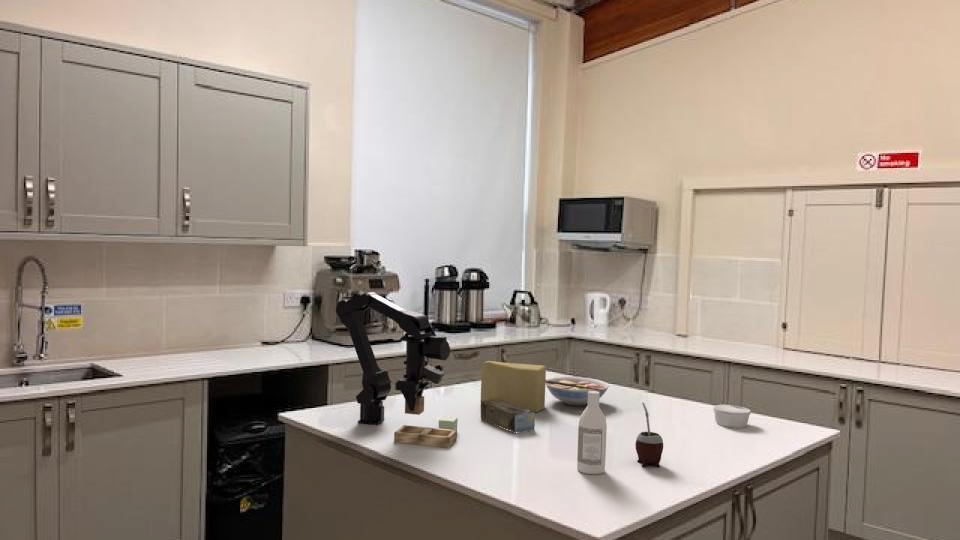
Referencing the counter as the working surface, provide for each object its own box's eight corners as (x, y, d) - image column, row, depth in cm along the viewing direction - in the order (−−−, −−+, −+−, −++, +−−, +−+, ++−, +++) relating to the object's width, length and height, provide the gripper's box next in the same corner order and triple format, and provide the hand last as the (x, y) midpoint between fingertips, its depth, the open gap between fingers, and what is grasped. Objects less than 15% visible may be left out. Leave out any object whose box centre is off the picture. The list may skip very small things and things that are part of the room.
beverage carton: (514, 434, 205) (514, 412, 205) (478, 419, 222) (479, 399, 221) (535, 431, 210) (536, 409, 210) (499, 416, 226) (500, 396, 226)
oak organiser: (394, 442, 194) (394, 432, 193) (403, 434, 201) (403, 425, 201) (449, 447, 190) (449, 437, 190) (456, 439, 198) (456, 430, 198)
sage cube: (438, 435, 202) (438, 420, 202) (442, 431, 206) (442, 416, 206) (453, 436, 201) (453, 421, 201) (457, 432, 205) (457, 417, 205)
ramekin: (755, 425, 224) (756, 409, 224) (741, 431, 216) (742, 414, 216) (721, 418, 232) (722, 402, 232) (707, 424, 224) (707, 407, 223)
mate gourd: (654, 470, 176) (657, 412, 175) (626, 463, 181) (629, 406, 180) (667, 464, 181) (670, 407, 181) (640, 457, 187) (642, 402, 186)
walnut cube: (404, 413, 205) (405, 398, 205) (409, 409, 209) (410, 395, 209) (419, 414, 204) (419, 399, 204) (423, 411, 208) (424, 396, 208)
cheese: (475, 405, 238) (477, 362, 238) (485, 400, 248) (487, 358, 247) (537, 413, 231) (539, 368, 230) (545, 407, 240) (547, 364, 239)
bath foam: (586, 464, 179) (589, 387, 179) (609, 470, 175) (612, 392, 174) (571, 470, 174) (574, 391, 173) (595, 477, 170) (598, 396, 169)
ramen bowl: (621, 403, 249) (622, 380, 249) (595, 415, 230) (596, 391, 229) (558, 392, 262) (559, 371, 262) (529, 404, 243) (530, 381, 243)
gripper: (432, 364, 195) (431, 418, 196) (450, 353, 213) (448, 403, 214) (395, 361, 198) (393, 415, 198) (415, 351, 216) (414, 400, 216)
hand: (414, 408), depth 207 cm, fingers closed on walnut cube, 4 cm apart
